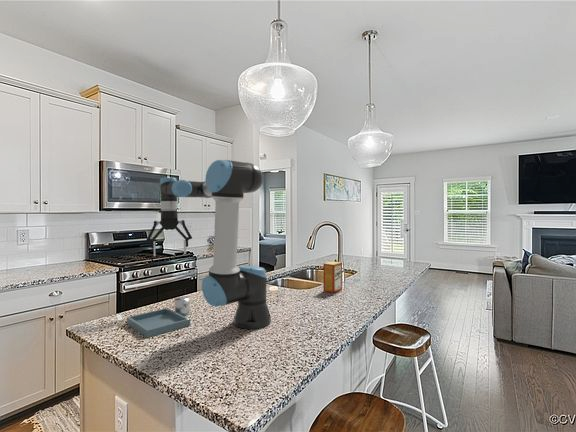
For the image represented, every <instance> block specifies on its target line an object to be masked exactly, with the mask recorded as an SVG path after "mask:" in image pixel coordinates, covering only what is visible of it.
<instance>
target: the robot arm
mask: <svg viewBox="0 0 576 432" xmlns="http://www.w3.org/2000/svg"><path fill="white" fill-rule="evenodd" d="M263 181H264V176H263V173H262V171H261V169H260V168H259V167H258V166H257V165H256V164H253V163H250V162H245V161H244V162H243V161H237V160H231V159H230V160H228V159H216V160H215V161H213V162H212V163H211V164H210V165H209V167H208V168H207V170H206V174H205V179H204V181H193V180H192V181H191V180H185V179H178V180H177V178H176V177H170V176H169V177H166V176H165V177H161V178H160V180H159V187H160V188H159V194H160V210H161V211H160V221H158V220H154V221H153V226H152V228H151V229H150V232H149V233H148V235H147V238H146V241H147V242H150V248H151V250H153V257H156V255H157V254H156V241H155V240H156V239H157V238H158V237H159V236H160V234H161V233H162V232H164V230H165V231H169V230H170V231H174V230H175V231H177V233H178V234H179V235H180V236H181V237H182V238H183V255H187V248H188V247H189V240H192V239H193V237H192V235H191V233H190V231H189V229H188V227H187V226H186V222H185V220H184V219H182V220H178V218H179V217H178V215H179V214H178V198H204V199H205V198H206V199H210V198H212V199H213V200H214V201H215V207H214V208H215V209H214V211H215V212H214V214H215V215H214V236H213V238H214V239H213V259H212V260H213V263H212V266H210V267H209V268H208V275H206V276H205V277H203V279H202V282H201V291H202V294H203V298H204V299H205V300H206V302H207V303H208V304H209V305H210V306H211V307H214V308H217V307H225V306H226V305H231V304H233V303H237V305H236V306H237V307H236V310H235V314H234V316H233V325H234V326H235V327H237V328H240V329H246V330H255V329H262V328H265V327H267V326H269V325H270V324H271V322H272V316H271V314H270V310H269V307H268V304H267V271H266V269H265V268H264V267H261V266H255V265H254V266H253V265H239V266H238V265H237V258H238V257H237V256H238V238H239V237H238V236H239V234H238V233H239V214H240V213H239V212H240V202H241V201H242V200H243V199H244V197H245V196H244V194H249V193H254V192H256V191H258V190H259V189H260V188H261V186H262V185H263ZM159 225H160V226H161V227H160V229H159V230H158V231H157V232H156V234H155V235H154V236H153V237H152V235H153V234H154V232H155V229H156V228H157V226H159ZM179 225H180V226H182V228H183V229H184V232H185V233H186V235H185V233H184V232H182V230H180V228H179V227H178V226H179Z"/></svg>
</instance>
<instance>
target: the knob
mask: <svg viewBox="0 0 576 432" xmlns="http://www.w3.org/2000/svg"><path fill="white" fill-rule="evenodd" d="M173 300H174V312H176V313H179V314H181V315H183V316H185V317H187V316H189V315H190V314H191V311H190V310H191V308H190V306H191V305H190V304H191V303H190V302H191V300H190V297H189V296H178V297H176V298H174V299H173Z"/></svg>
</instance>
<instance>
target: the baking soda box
mask: <svg viewBox="0 0 576 432" xmlns="http://www.w3.org/2000/svg"><path fill="white" fill-rule="evenodd" d="M322 268H323V292H325V293H331V294H335V293H337V292H340V291H343V262H341V261H327V262H324V263H323V267H322Z"/></svg>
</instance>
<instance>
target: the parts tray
mask: <svg viewBox="0 0 576 432" xmlns="http://www.w3.org/2000/svg"><path fill="white" fill-rule="evenodd" d="M126 324H127V325H129V327H132V328H133V329H134V330H136V331H137V332H139V333H140V334H141V335H142V336H145V337H146V338H147V339H149V338H150V337H155V336H158V335H162V334H166V333H168V331H169V332H172V330H173V331H176V330H179V329H183V328H186V327H190V326H191V318H189V317H187V316H183V315H181V314H179V313H176V312H175V310H172V309H170V308H169V307H165V308H161V309H155V310H153V311H147V312H143V313H140V314H135V315H130V316H126ZM165 332H166V333H165Z"/></svg>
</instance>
